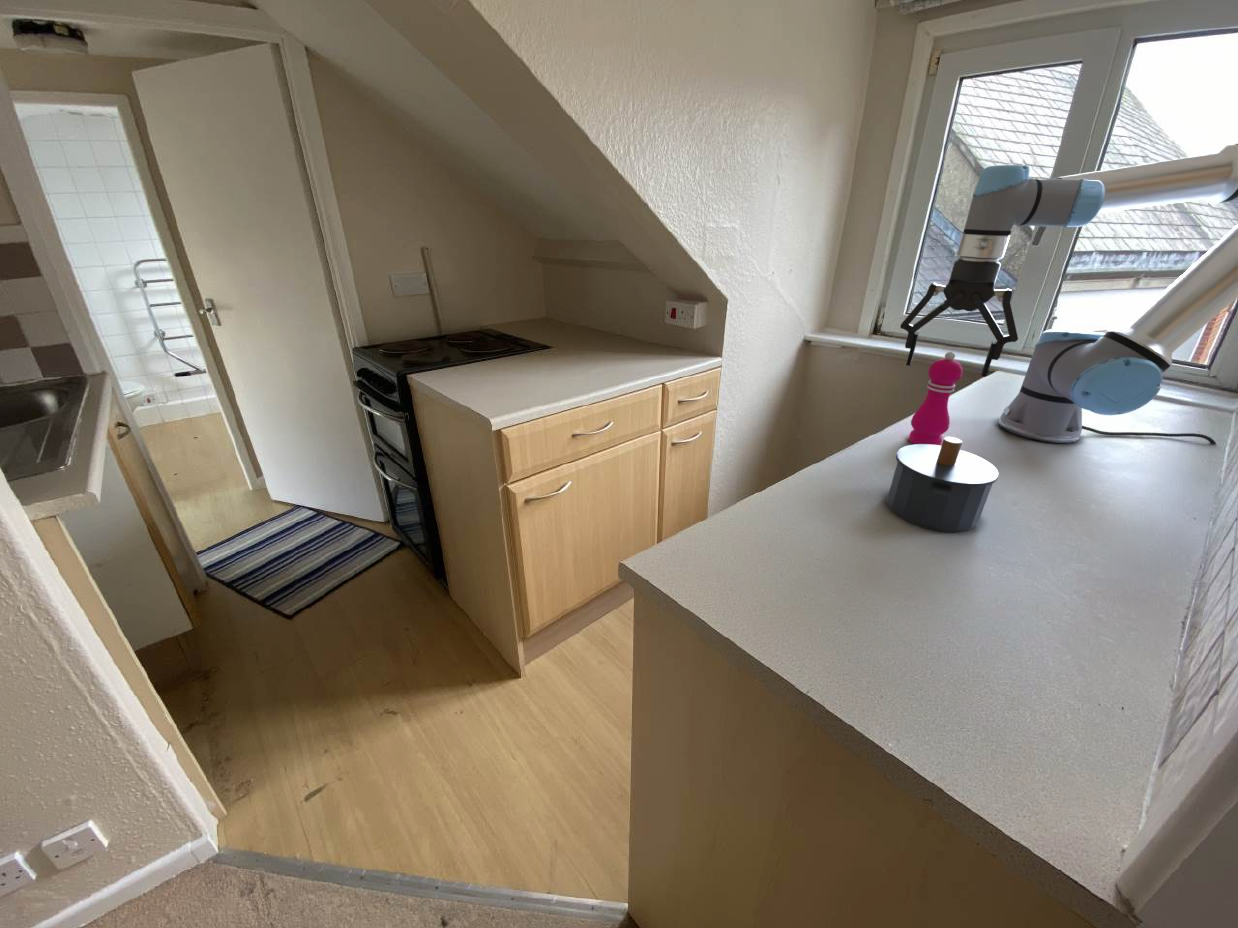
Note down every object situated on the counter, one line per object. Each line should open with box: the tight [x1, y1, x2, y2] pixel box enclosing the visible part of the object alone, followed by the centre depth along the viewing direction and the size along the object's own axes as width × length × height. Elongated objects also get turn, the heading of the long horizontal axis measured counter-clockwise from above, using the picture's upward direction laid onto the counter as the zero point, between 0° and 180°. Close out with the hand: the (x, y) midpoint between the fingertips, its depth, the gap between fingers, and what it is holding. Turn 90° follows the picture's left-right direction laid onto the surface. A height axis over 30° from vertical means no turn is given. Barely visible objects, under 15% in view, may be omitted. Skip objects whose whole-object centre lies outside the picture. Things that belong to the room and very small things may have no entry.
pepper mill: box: [908, 351, 963, 446], centre depth 112 cm, size 7×7×20 cm
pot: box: [886, 461, 993, 533], centre depth 88 cm, size 14×19×8 cm
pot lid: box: [895, 436, 1000, 487], centre depth 85 cm, size 15×15×5 cm
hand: (944, 369), depth 109 cm, fingers open, 13 cm apart
